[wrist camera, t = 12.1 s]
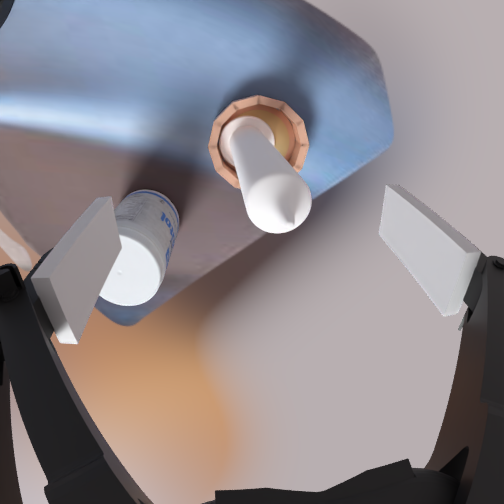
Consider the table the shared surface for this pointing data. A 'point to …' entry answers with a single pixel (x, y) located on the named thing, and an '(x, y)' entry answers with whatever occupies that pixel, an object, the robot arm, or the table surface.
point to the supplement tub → (141, 247)
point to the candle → (265, 176)
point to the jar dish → (285, 133)
